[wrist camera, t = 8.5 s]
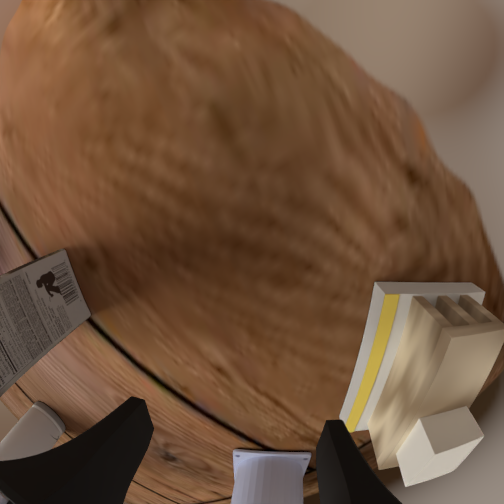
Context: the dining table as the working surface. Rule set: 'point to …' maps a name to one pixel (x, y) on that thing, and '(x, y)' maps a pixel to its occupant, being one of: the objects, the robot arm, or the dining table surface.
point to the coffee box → (36, 313)
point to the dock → (389, 341)
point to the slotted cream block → (434, 368)
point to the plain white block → (438, 445)
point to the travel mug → (32, 433)
